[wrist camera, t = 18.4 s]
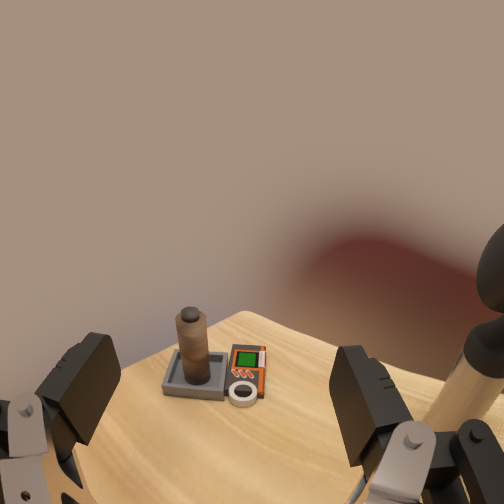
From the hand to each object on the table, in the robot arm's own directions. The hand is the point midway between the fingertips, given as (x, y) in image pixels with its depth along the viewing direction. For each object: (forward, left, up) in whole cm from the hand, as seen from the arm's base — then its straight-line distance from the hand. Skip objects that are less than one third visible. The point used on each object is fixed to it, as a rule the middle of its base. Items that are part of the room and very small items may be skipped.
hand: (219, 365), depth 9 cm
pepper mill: (+8, -29, -29) cm, 42 cm away
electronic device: (-1, -30, -31) cm, 43 cm away
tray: (+8, -29, -30) cm, 43 cm away
